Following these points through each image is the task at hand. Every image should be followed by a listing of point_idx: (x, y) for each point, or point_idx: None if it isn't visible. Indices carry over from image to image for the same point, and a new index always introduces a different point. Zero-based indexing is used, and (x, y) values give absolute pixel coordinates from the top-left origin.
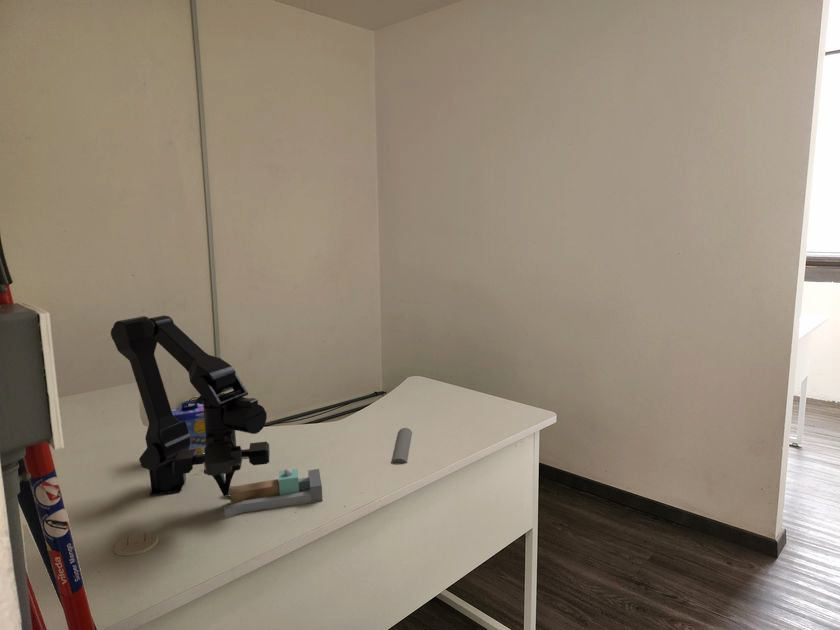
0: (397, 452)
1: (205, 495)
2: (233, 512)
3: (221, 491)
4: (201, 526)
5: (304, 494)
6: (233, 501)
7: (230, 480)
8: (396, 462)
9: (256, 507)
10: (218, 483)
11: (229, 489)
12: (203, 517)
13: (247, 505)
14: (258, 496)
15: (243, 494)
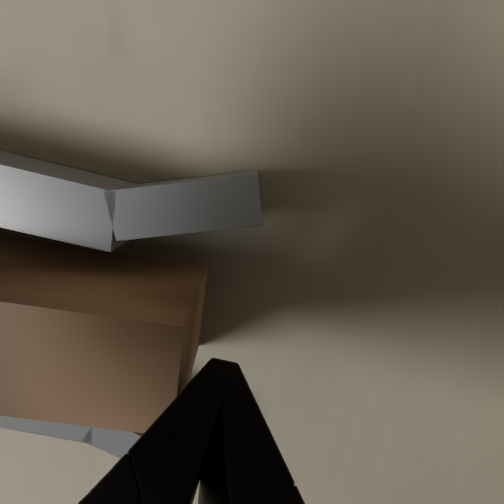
0: None
1: (315, 469)
2: (199, 177)
3: (253, 396)
4: (427, 141)
5: None
6: (178, 285)
7: (108, 483)
8: None
9: (25, 159)
10: (286, 489)
11: None
12: (384, 254)
13: (77, 179)
14: None
15: (72, 294)
